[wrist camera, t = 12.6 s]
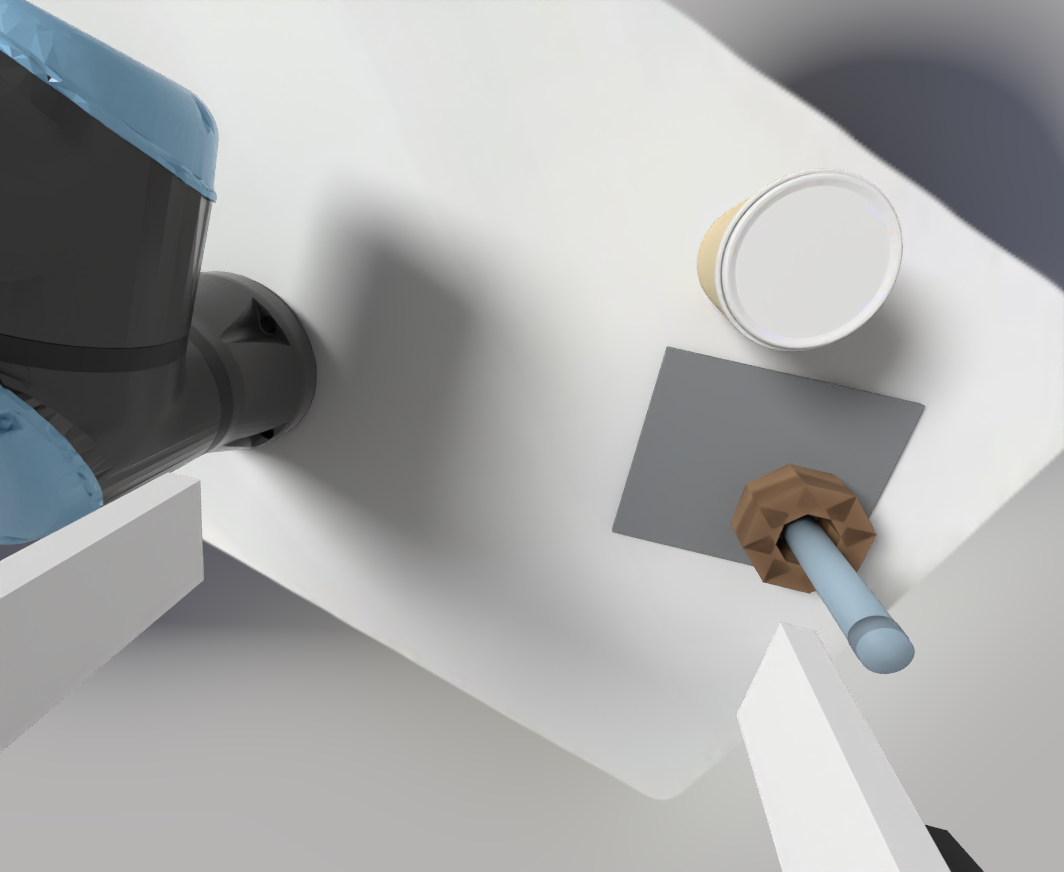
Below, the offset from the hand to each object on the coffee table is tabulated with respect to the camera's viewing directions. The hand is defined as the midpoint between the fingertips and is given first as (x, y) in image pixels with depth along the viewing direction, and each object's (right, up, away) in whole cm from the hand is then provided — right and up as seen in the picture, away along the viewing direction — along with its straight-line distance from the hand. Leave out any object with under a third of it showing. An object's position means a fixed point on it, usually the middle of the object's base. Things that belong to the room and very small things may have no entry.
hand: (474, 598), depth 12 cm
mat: (+20, +1, +32) cm, 38 cm away
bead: (+23, -3, +33) cm, 40 cm away
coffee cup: (+17, +17, +27) cm, 36 cm away
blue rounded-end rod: (+23, -3, +33) cm, 40 cm away
